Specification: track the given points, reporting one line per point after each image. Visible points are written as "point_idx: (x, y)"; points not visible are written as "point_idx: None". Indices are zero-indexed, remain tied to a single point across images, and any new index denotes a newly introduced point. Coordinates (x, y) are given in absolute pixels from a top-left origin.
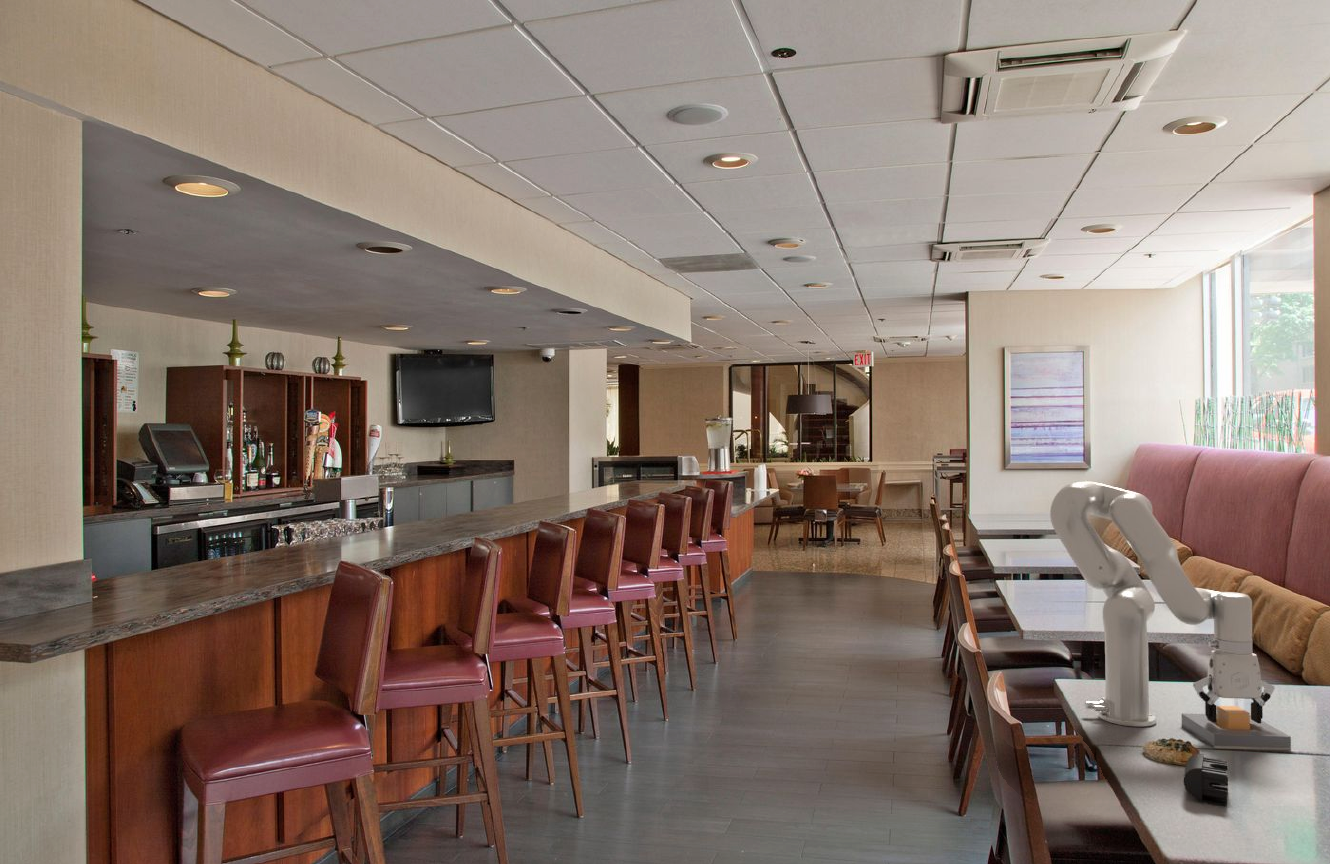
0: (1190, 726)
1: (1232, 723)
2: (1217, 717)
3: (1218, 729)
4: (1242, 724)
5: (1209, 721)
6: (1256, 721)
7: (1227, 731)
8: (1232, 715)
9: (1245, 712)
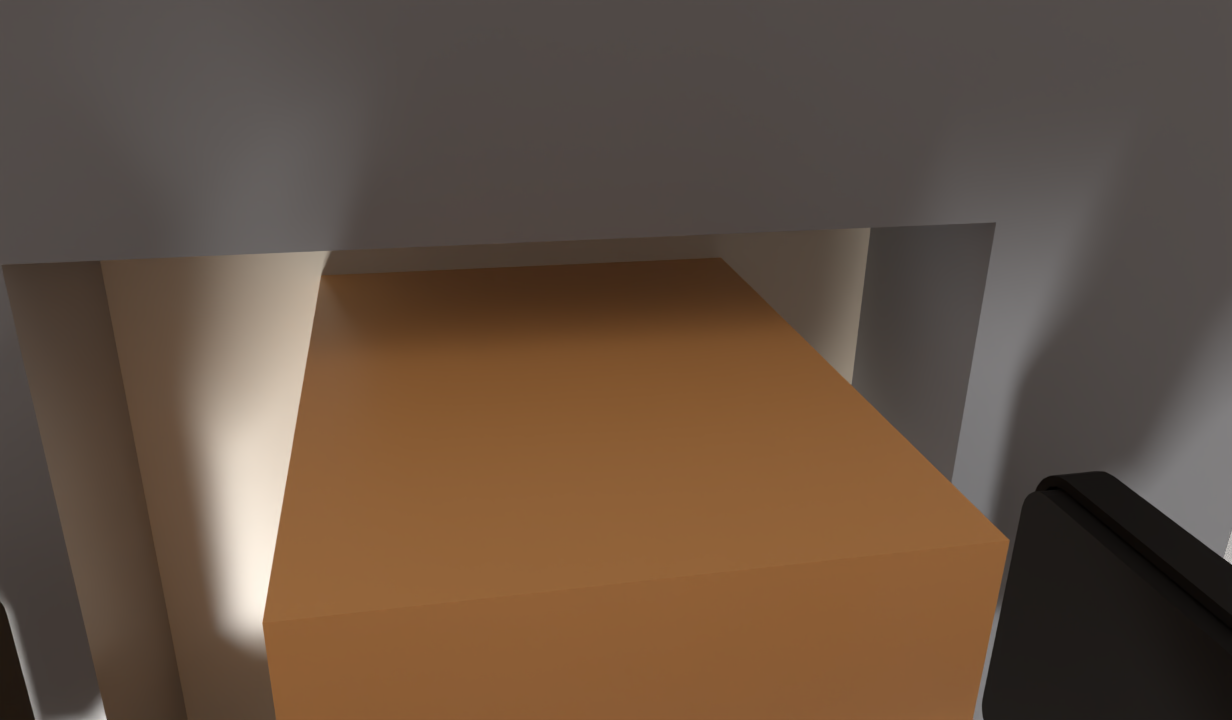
0: None
1: (755, 393)
2: None
3: (1107, 176)
4: (500, 396)
5: None
6: (2, 659)
7: (1003, 35)
8: (846, 504)
9: (393, 675)
